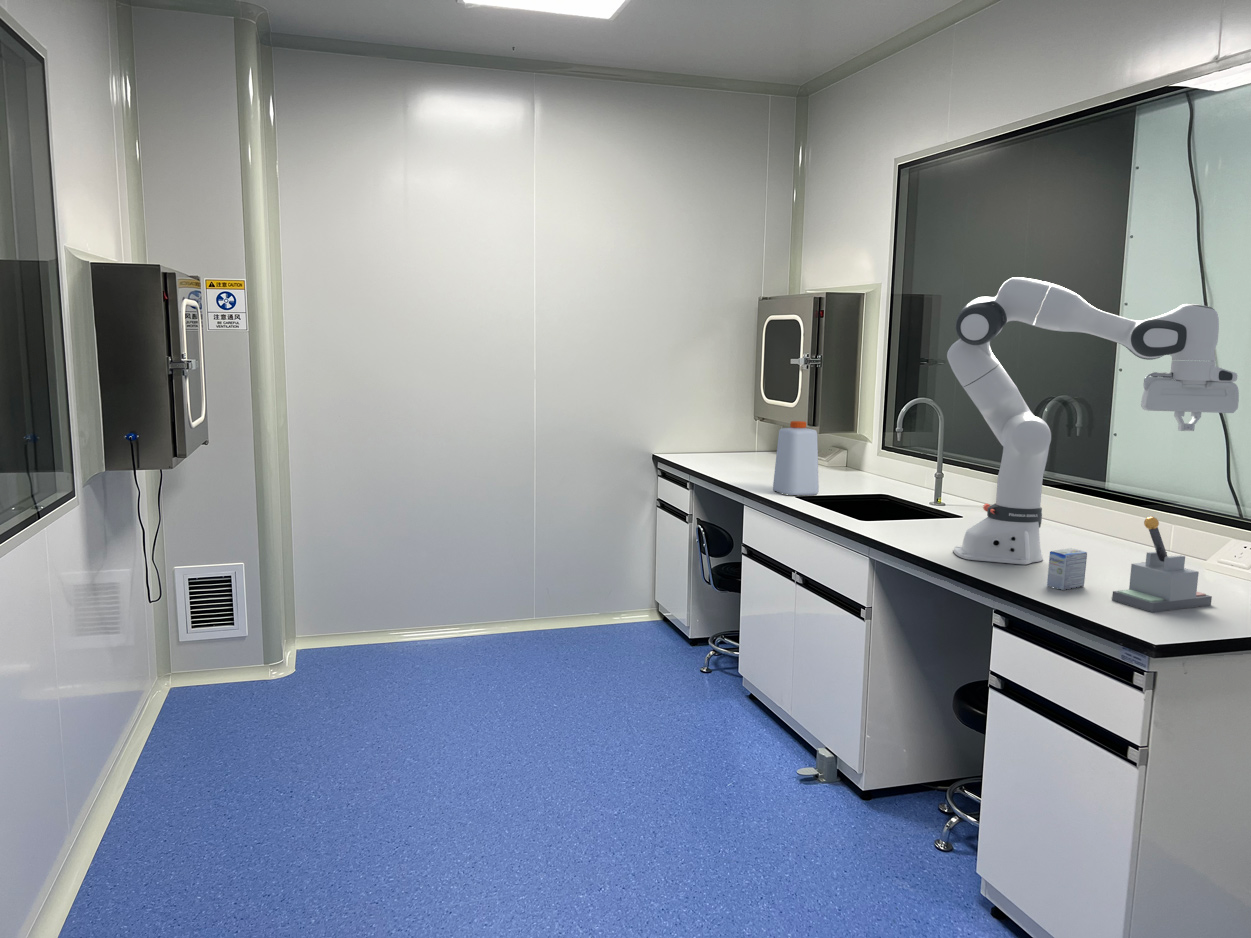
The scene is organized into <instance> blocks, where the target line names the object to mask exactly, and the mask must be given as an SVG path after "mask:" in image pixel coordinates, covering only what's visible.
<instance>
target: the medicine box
mask: <svg viewBox="0 0 1251 938" xmlns="http://www.w3.org/2000/svg"><path fill="white" fill-rule="evenodd" d="M1048 558H1049V559H1048V571H1047V582H1046V585H1047V587H1048V586H1050V587H1049V588H1052V587H1054V588H1053V589H1055V588H1058V589H1057V590H1059V589H1061V590H1060V591H1065V590H1066V589H1067V590H1072V589H1076V587H1077V588H1081V587H1080V586H1083V587H1085V580H1086V571H1087V569H1086V568H1087V559H1088V552H1087V551H1084V550H1081V549H1076V548H1072V547H1069V548H1063V549H1062V548H1061V549H1057V550H1051V551H1049V556H1048ZM1071 588H1072V589H1071Z"/></svg>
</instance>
